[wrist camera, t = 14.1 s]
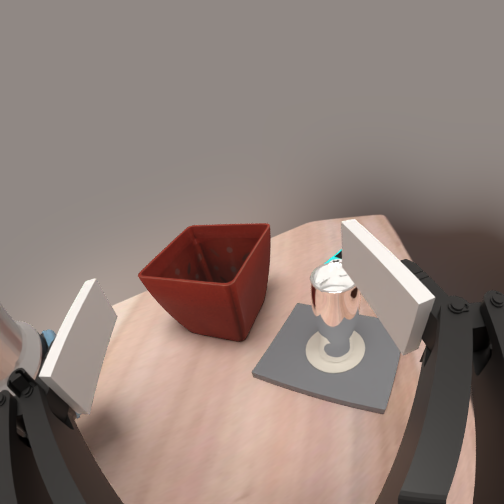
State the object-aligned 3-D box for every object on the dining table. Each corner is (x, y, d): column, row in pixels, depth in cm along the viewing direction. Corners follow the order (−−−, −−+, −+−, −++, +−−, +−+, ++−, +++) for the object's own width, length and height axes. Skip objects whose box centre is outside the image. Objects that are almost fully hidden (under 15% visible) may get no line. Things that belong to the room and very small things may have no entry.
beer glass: (306, 352, 42) (297, 281, 35) (331, 326, 46) (328, 255, 38) (340, 372, 37) (342, 301, 30) (364, 342, 41) (370, 270, 33)
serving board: (253, 376, 42) (251, 371, 41) (298, 308, 54) (297, 301, 54) (383, 414, 30) (385, 408, 29) (404, 328, 43) (406, 321, 42)
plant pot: (254, 359, 45) (230, 284, 37) (169, 341, 53) (134, 275, 45) (283, 291, 60) (271, 222, 52) (209, 285, 68) (189, 225, 60)
